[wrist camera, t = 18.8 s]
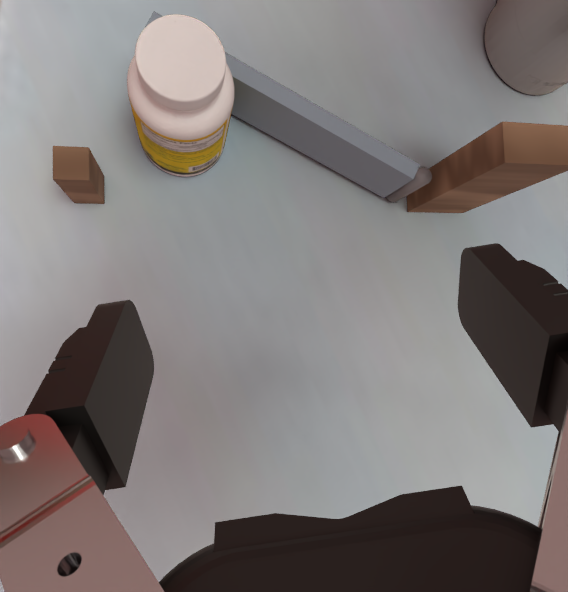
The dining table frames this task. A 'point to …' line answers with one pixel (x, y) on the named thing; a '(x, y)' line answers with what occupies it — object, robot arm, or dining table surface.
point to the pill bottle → (181, 94)
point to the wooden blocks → (445, 175)
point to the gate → (321, 134)
